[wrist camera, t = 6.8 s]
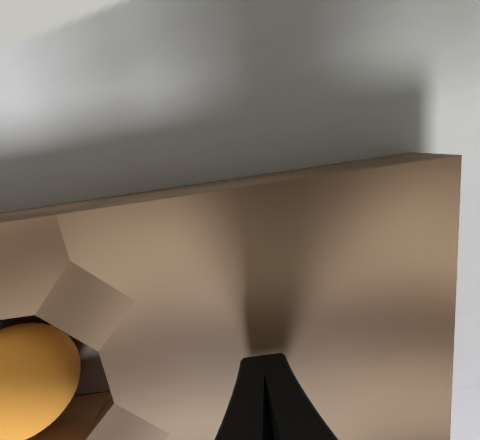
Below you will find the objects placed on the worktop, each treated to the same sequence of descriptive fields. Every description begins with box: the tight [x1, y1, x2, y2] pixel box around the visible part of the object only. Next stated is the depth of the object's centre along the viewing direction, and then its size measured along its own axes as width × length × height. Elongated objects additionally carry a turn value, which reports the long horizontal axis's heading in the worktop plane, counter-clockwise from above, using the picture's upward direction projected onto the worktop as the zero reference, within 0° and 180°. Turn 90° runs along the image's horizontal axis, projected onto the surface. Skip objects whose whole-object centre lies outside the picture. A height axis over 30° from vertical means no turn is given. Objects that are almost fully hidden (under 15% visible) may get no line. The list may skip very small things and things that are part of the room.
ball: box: [0, 323, 81, 440], centre depth 11 cm, size 4×4×4 cm
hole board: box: [0, 153, 462, 440], centre depth 12 cm, size 12×20×2 cm, turn 98°
